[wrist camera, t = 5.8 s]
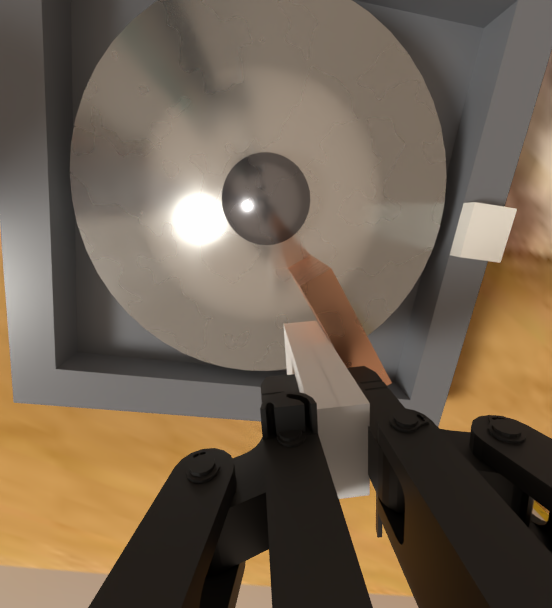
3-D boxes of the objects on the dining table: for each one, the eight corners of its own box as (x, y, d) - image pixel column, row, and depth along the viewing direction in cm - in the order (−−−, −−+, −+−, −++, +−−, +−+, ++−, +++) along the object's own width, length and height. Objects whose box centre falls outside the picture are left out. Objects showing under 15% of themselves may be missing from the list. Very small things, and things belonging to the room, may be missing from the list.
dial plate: (30, -113, 13) (-56, -241, 9) (520, -1, 15) (603, -69, 12) (50, 373, 19) (1, 411, 15) (410, 404, 21) (444, 444, 17)
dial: (16, 132, 14) (-144, 75, 8) (334, -77, 13) (397, -309, 7) (214, 403, 18) (196, 488, 13) (468, 261, 17) (576, 283, 11)
